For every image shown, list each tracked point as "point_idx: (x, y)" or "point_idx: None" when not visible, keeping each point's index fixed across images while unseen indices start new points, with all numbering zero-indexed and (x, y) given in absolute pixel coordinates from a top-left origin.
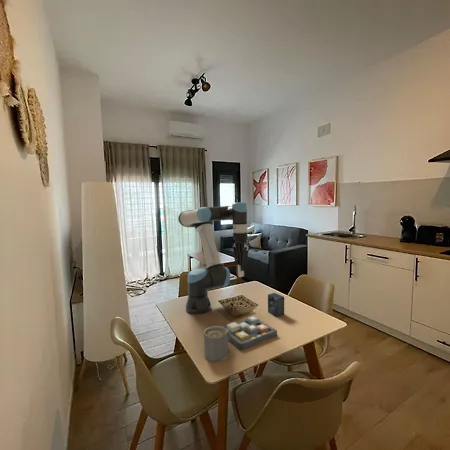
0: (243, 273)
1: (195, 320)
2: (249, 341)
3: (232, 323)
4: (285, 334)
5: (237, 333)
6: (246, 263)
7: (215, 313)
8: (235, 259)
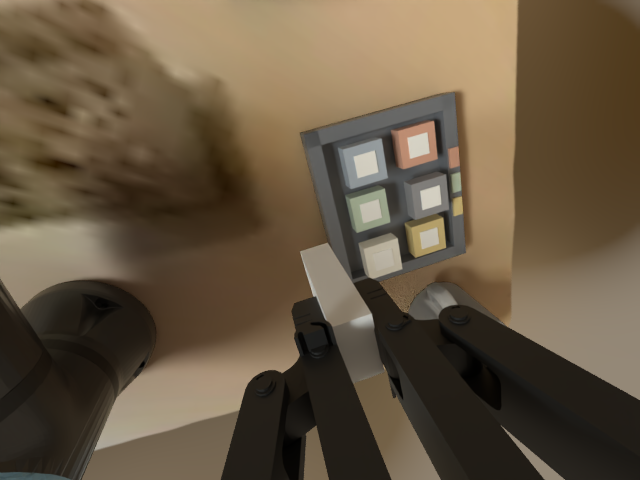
0: (336, 259)
1: (216, 349)
2: (463, 222)
3: (371, 259)
4: (450, 52)
5: (418, 250)
6: (468, 310)
7: (168, 271)
8: (294, 468)
